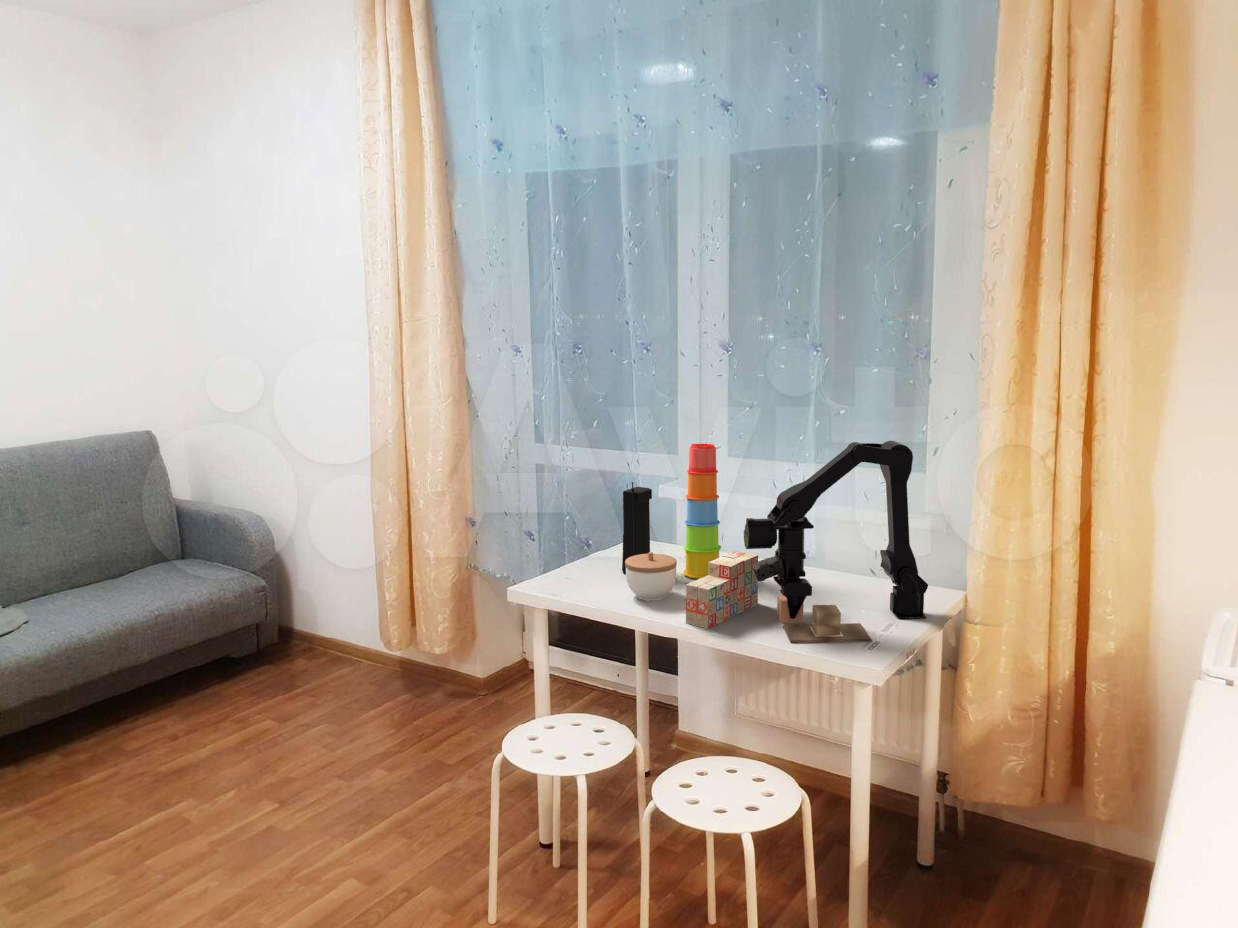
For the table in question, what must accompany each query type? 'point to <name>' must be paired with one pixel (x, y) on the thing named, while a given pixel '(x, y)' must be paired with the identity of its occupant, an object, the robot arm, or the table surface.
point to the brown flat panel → (808, 635)
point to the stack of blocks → (722, 590)
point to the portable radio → (636, 522)
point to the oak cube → (826, 619)
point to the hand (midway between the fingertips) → (790, 613)
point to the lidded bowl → (651, 575)
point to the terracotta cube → (784, 612)
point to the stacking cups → (701, 511)
